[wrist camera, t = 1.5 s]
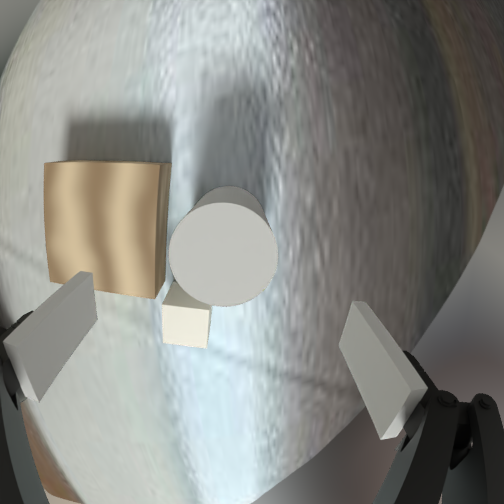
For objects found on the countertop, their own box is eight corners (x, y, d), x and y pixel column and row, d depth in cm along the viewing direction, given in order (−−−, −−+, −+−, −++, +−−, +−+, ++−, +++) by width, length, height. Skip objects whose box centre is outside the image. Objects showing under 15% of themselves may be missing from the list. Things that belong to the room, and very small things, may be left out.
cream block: (172, 316, 37) (163, 342, 31) (173, 281, 35) (162, 304, 29) (211, 320, 37) (206, 348, 31) (213, 285, 36) (209, 310, 30)
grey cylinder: (199, 260, 34) (181, 311, 23) (186, 192, 32) (158, 212, 20) (268, 251, 34) (282, 299, 23) (259, 181, 32) (271, 195, 20)
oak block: (69, 266, 34) (50, 281, 29) (67, 160, 30) (44, 163, 25) (165, 280, 35) (155, 299, 30) (171, 163, 31) (159, 164, 26)
